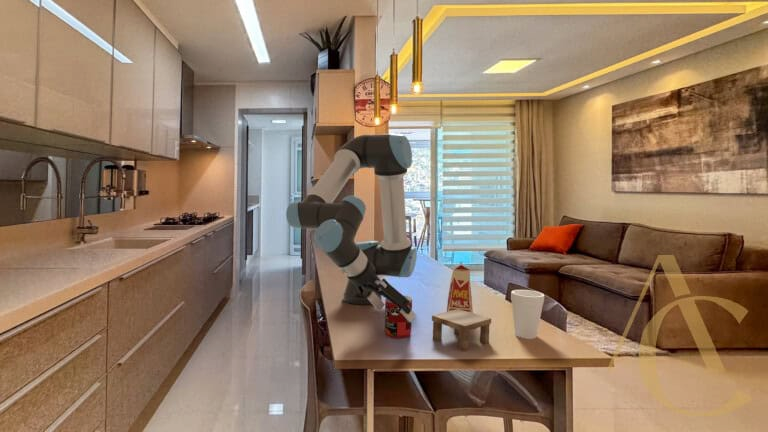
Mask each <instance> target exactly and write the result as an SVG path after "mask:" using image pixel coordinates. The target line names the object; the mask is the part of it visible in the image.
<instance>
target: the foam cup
mask: <svg viewBox="0 0 768 432" xmlns="http://www.w3.org/2000/svg"><path fill="white" fill-rule="evenodd" d="M510 300H511V308H512V317H513V318H512V321H513V330H514V336H515V337H517V336H518V337H517V338H520V337H521V338H520V339H524V338H525V340H534V338H535V339H537V337H538V336H537V335H538V332H539V327H540V322H541V315H542V310H543V306H544V304H545V294H544V293H542V292H540V291H536V290H530V289H529V290H528V289H513V290H512V291H511V293H510Z"/></svg>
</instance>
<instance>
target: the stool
mask: <svg viewBox="0 0 768 432" xmlns="http://www.w3.org/2000/svg"><path fill="white" fill-rule="evenodd" d="M431 321H432V340H434V341H436V342H439V341H442V339H443V337H442V336H443V335H442V334H443V325H444V326H446V327H449V328H453V333H454V334H456V335H458V350H460V351H462V352H465V351H468V350H469V335H470V334H469V333H470V331H471V330H475V329H478V328H479V329H480V331H479V342H480V343H483V344H487V343H488V344H489V343H490V326H491V324H492V318H491V317H489V316H484V315H480V314H478V313H474V312H473V313H471V312H467V311H464V310H460V309H456V310H452V311H448V312H447V311H445V312H441V313H436V314H433V315H431Z"/></svg>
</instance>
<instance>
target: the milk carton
mask: <svg viewBox="0 0 768 432" xmlns="http://www.w3.org/2000/svg"><path fill="white" fill-rule="evenodd" d="M462 264H463V261H460V262H459V265H458V266H457V267H455V268H454V269H453V270H452V274H451V278H450V279H451V280H450V284H449V291H448V298H447V305H446V312H448V311H452V310H456V309H460V310H464V311H467V312H471V313H474V311H473V310H474V309H473V300H472V299H473V297H472V285H471V270H470V269H469V268H467V267H466V266H464V265H462Z"/></svg>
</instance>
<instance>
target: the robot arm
mask: <svg viewBox="0 0 768 432" xmlns="http://www.w3.org/2000/svg"><path fill="white" fill-rule="evenodd" d="M412 151H413V150H412V147H411V143H410V140H409V139H408V137H407V136H406V135H405V134H403V133H402V134H401V133H379V134H378V133H377V134H363V135H359V136H356V137H354V138H352V139H350V140H348V141H347V142H345V143H344V144H343V145H341V147H340V148H339V149H338V150H337V151H336V152H335V154H334V156H333V161H332V163H331V164H330V165H329V166H328V168H327V169H326V170H325V171H324V173H323V174H322V176H320V178H319V179H318V181H316V183H315V184H314V186H313V187H312V188H311V190H310V191H309V192H308V194H306V196H305V197H304V198H303V200H302V201H300V200H298V201H292V202H290V203H289V204H288V205H287V208H286V214H285V215H286V218H285V219H286V221H287V223H288V225H289V226H291V227H292V228H298V229H304V230H305V229H313V230H315V231H314V233H313V238H314V241H315V242H316V244H317V245H318V246H319V248H320V250H321V251H323V253H324V254H326V256H328V258H329V259H330V260H331V261H332V262H333V263H334V264H335V265H336V266H337V267H338V268H339V269H340V273H341V274H344V275H345V276H346V278H347V283H346V285H345V289H344V292H343V298H342V299H343V301H344V302H345V303H348V304H353V305H361V306H362V305H373V306H374V308H375V309H376V310H377V311H378V312H381V311H382V310H383V307H385V303H384V302H383V301H382V299H383V298H385V300H386V299H388V300H389V301H390V302H392V303H393V304H394V305H396V306H397V307H398V311H400V312H401V313H402V314H403V316H404V317H405V318H406V319H407V320H408V321H409V322H410V323H411V324H412V321H413V320H414V318H415V317H416V316H417V314H416V313H415V312H414V310H413V309H412V310H411V308H410V307H409V306H408V304H409V302H410V301H409V300H408V299H407V298H405V297H404V296H405V295H403V294H402V293H401V292H400V291H398V290H397V289H396V288H395V287H394V286H393V285H391V284H390V283H389V282H388V281H387V280H386V279H385V278H382V279H381V278H379V276H384V277H392V278H393V277H396V278H399V279H400V278H410V277H411V276H412V275H413V273H414V271H415V267H416V263H417V256H418V250H417V248H416V247H415V246H412V241H411V240H410V239H409V238H408V236H407V218H406V202H405V186H404V177H405V175H406V174H407V172H408V169H410V168H411V166H412V164H413V153H412ZM364 168H365V169H366V168H368V169H373V170H374V175H375V176H376V177H377V178H378V179H379V180H378V181H379V191H380V205H381V220H382V229H383V230H382V231H383V239H382V241H381V242H379V241H378V240H368V241H367V240H366V241H359V242H358V241H357V242H355V241H354V240H355V237H356V236H357V232H358V230H359V228H360V226H361V224H362V223H363V221H364V218H365V215H366V211H367V206H366V204H365V202H364V201H363V199H361V198H360V197H358V196H355V195H347V196H345V197H343V198H342V200H341V201H340V202H337V203H336V202H334V201H335V200H336V199H337V197H338V196H339V194H340V192H341V191H342V189H343V188H344V187H345V185H346V183H347V182H348V181H349V179H350V178H351V176H352V175H353V174H355V173H357V172H358V171H359V170H360V169H364ZM382 297H383V298H382Z"/></svg>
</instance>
